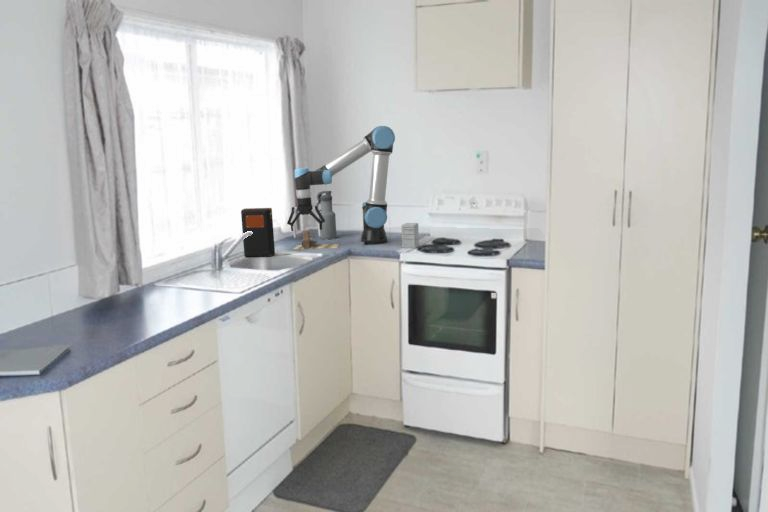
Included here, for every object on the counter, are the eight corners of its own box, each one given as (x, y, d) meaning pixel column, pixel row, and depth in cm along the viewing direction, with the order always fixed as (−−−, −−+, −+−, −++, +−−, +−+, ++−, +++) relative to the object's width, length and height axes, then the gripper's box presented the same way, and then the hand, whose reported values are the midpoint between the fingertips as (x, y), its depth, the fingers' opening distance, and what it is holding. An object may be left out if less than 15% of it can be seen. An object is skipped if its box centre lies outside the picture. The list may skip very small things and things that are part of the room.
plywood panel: (340, 246, 381) (340, 244, 380) (337, 250, 369) (337, 248, 369) (297, 247, 382) (297, 245, 382) (293, 251, 371) (293, 249, 370)
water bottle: (316, 239, 406) (313, 192, 401) (324, 236, 415) (321, 190, 410) (332, 239, 402) (329, 192, 397) (339, 237, 411) (336, 190, 406)
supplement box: (406, 245, 375) (405, 222, 372) (419, 246, 372) (418, 222, 370) (401, 248, 368) (401, 224, 366) (415, 248, 365) (414, 224, 363)
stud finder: (317, 245, 380) (317, 238, 379) (316, 246, 376) (316, 239, 375) (303, 245, 380) (302, 238, 380) (301, 246, 376) (301, 239, 376)
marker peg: (309, 248, 371) (308, 231, 369) (303, 248, 371) (302, 232, 369) (310, 247, 374) (309, 231, 372) (304, 247, 374) (303, 231, 372)
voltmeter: (276, 254, 365) (272, 207, 360) (272, 257, 357) (268, 209, 352) (247, 254, 367) (243, 207, 362) (242, 257, 358) (238, 210, 354)
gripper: (328, 194, 370) (331, 233, 374) (282, 197, 372) (286, 236, 376) (325, 196, 362) (329, 236, 366) (279, 199, 364) (283, 238, 368)
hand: (307, 236), depth 371 cm, fingers open, 13 cm apart
